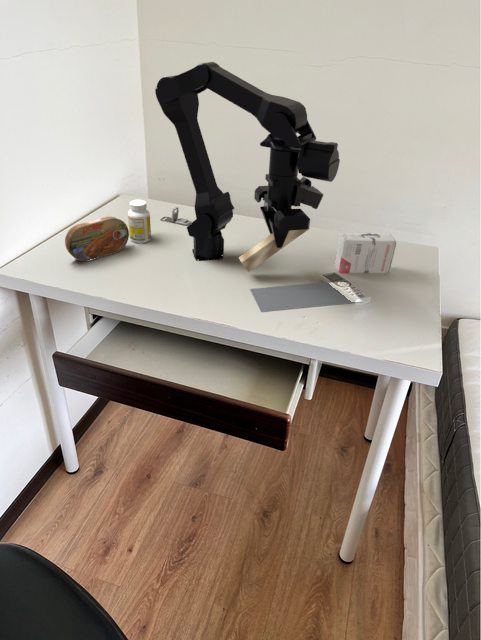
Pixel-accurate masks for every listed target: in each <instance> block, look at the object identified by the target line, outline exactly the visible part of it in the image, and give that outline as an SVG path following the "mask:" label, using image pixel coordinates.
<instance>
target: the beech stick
mask: <svg viewBox="0 0 481 640" xmlns="http://www.w3.org/2000/svg"><path fill="white" fill-rule="evenodd" d="M310 229H311V228H310V227H309V229H305V230H291V231H289V232H288V235H287V237H286V239H285V242H284V244H283V246H282V248H277V247H276V243H275V240H274V236H273V233H272V234H271V235H270V234H269V235H268V236H267V237H265V238H264V239H262V240H261V241H259V242H258V243H257V244H256V245H254V246H252V247H251V248H250V249H248V250H247V251H246V252H244V253H243V254H242V255H240V256H238V259H239V261H240V263H241V264H242V265H243V267H244V269H246V271H247V272H248V273H249V272H251V271H253V270H254V269H255V268H257V267H258V266H260V265H261V264H262V263H264V262H265V261H266V260H268V259H269V258H271V257H272V256H274V255H275V254H277V253H278V252H279V251H280V250H282V249H284V248H285V247H286V246H288V245H289V244H290V243H292V242H293V241H295V240H296V239H297V238H299V237H300V236H302V235H304V234H305V233H307V231H309V230H310Z"/></svg>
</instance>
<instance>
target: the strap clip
mask: <svg viewBox="0 0 481 640" xmlns="http://www.w3.org/2000/svg"><path fill="white" fill-rule="evenodd" d="M159 220H160V221H161V222H165V223H174V224H176V225H179V226H184V227H188V226H189V225H190V224H191V223H192V221H191V220H190V219H186V218H179V207H178V206H175V207H173V208H172V212H171V217H170V216H164V217H162V218H160V219H159Z"/></svg>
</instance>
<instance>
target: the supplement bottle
mask: <svg viewBox="0 0 481 640" xmlns="http://www.w3.org/2000/svg"><path fill="white" fill-rule="evenodd" d="M147 207H148V206H147V201H145V200H142V199H133V200H131V201H130V202H129V210H128V212H127V220H128V221H127V222H128V230H129V239H130V241H131V242H132V243H136V244H144V243H148V242H150V240H151V239H152V230H151V229H152V227H151V226H152V225H151V213H150V210H148V209H147Z"/></svg>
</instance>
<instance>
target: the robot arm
mask: <svg viewBox="0 0 481 640" xmlns="http://www.w3.org/2000/svg"><path fill="white" fill-rule="evenodd" d="M207 89H208V90H209V91H211V92H213V93H215V94H217V95H218V96H220V97H221V98H223V99H225V100H227V101H228V102H230V103H232V104H233V105H235V106H237V107H239V108H240V109H242V110H244V111H246V112H247V113H249V114H251V115H252V116H254V118H256V120H257V122H258V123H259V124H260V126H261V127H262V128H264V129H265V130H266V131H267V132H268V133H269V134H268V135H267V136H266V138H265V139H263V140H262V141H261V142H260V143H259V146H261V147H264V148H269V149H270V150H269V165H268V173H266V174H265V176H264V178H265V181H266V182H267V185H259V186H257V187H256V189H255V190H254V196H253V197H254V200H255V201H256V203H261V201H263V205H262V206H260V207H259V208H260V211H261V213H262V215H263V219H264V222H265V224H266V227H267V230H268V233H269V235H271V234H272V233H273V236H274V240H275V243H276V247H277V248H282V246H283V244H284V242H285V239H286V237H287V235H288V232H289V231H291V230H305V229H309V228H310V226H311V225H310V224H311V218H310V217H309V216H308V215H307V214H306V213H305V212H304V211H303V210H302V208H298V207H301V204H302V205H305V206H308V207H311V208H312V209H313V210H314V209H315V210H317V209H318V207H319V205H320V203H321V202H322V199H323V197H324V193H322V192H321V191H320V190H319V189H318V188H317V187H315V186H312V180H310V179H313V180H318V181H324V182H333V181H334V180H335V178H336V176H337V174H338V172H339V167H340V161H341V160H340V153H339V152H340V151H339V150H338V146H339V144H338V143H337V142H333V141H329V142H325V141H321V140H320V141H319V140H317V136H316V134H315V131H313V128H312V126H311V124H310V122H309V121H308V113H307V108H306V107H305V106H304V104H303V103H301V102H300V101H297V100H295V99H291V98H288V97H284V96H280V95H274V94H270V93H268V92H265V91H263V90H262V89H261V88H259V87H257V86H255V85H254V84H251V83H250V82H247V81H246V80H244V79H242V78H240V77H238V76H237V75H235V74H234V73H232V72H230V71H229V70H226V69H225V68H223V67H221V66H220V65H219V64H218V63H216V62H214V61H209V62H208V61H207V62H201V63H198V64H197V65H196V66H194V67H193V68H191V69H189V70H187V71H184V72H182V73H179V74H175V75H169V76H165V77H164V76H163V77H161V78H160V79H159V80H158V82H157V84H156V87H155V88H154V93H155V97H156V100H157V102H158V104H159V107H160V108H161V111H162V113H163V114H164V116H165V117H166V118H167V119H168V121H170V122H171V123H172V125H173V126H174V127H175V131H176V134H177V137H178V140H179V144H180V146H181V149H182V153H183V156H184V159H185V163H186V167H187V168H188V171H189V174H190V178H191V181H192V184H193V187H194V191H195V201H194V212H195V213H194V214H195V218H196V219H194V220H193V222H192V221H191V224H189V225H188V226H186V230H187V233H188V235H189V237H192V239H193V248H192V251H191V252H192V254H193V258H194V259H195V261H196V262H207V261H216V260H217V261H220V260H224V255H225V251H224V250H225V248H224V247H225V239H224V237H223V233H222V230H224V229H226V227H227V225H228V224H229V223H230V222H231V221H232V220H233V219H232V218H233V217H234V212H233V210H235V207H234V205H233V203H232V200H231V199H232V198H231V194H230V192H229V191H225V192H223V191H222V190H221V189H220V188H219V186H218V184H217V180H216V178H215V174H214V171H213V167H212V164H211V161H210V158H209V157H210V156H209V154H208V150H207V147H206V144H205V141H204V138H203V133H202V131H201V126H200V124H199V121H198V120H199V119H198V113H199V107H200V100H199V94H201V93H203V92H205V91H207ZM297 134H299V135H297ZM299 174H301V178H299V177H298V175H299ZM292 207H294V208H292ZM295 207H297V208H295ZM309 230H310V229H309ZM282 249H283V248H282Z"/></svg>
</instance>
